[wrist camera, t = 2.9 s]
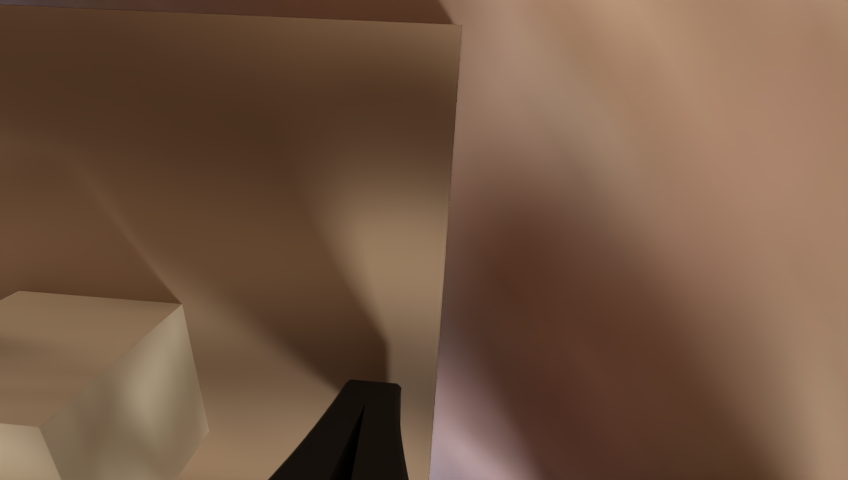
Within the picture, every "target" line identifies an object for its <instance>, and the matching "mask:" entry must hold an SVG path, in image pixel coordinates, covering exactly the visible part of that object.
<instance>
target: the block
mask: <svg viewBox="0 0 848 480" xmlns="http://www.w3.org/2000/svg"><path fill="white" fill-rule="evenodd" d="M208 433H209V428H208V424H207V419H206V414H205V409H204V405H203V400H202V395H201V391H200V386H199V381H198V377H197V372H196V367H195V362H194V358H193V353H192V348H191V344H190V339H189V334H188V330H187V325H186V320H185V315H184V311H183V306H182V304H175V303H163V302H151V301H138V300H126V299H114V298H102V297H89V296H77V295H65V294H52V293H40V292H28V291H17V292H15V293H14V294H12V295H10V296H8V297H6V298H4V299H2V300H0V480H177V478H178V477H179V475H180V474H181V472H182V471H183V469H184V468H185V466H186V465H187V463H188V462H189V460H190V459H191V458H192V456H193V455H194V453H195V452H196V450H197V449H198V447H199V446H200V444H201V443H202V441H203V440H204V438H205V437H206V436H207V434H208Z"/></svg>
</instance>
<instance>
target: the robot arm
mask: <svg viewBox="0 0 848 480" xmlns="http://www.w3.org/2000/svg"><path fill="white" fill-rule="evenodd" d="M401 390H402V388H401V387H400V386H399V385H398V384H397V383H386V382H375V381H364V380H353V379H350V380H349V381H347V382H346V383H345V385H344V386H343V388H342V389H341V391H340V392H339V394H338V395H337V396H336V398H335V399H334V401H333V402H332V403H331V405H330V406H329V408H328V409H327V410H326V412H325V413H324V414H323V415H322V417H321V418H320V419H319V421H318V422H317V423H316V424H315V426H314V427H313V428H312V429H311V431H310V432H309V433H308V434H307V436H306V437H305V438H304V439H303V440H302V442H301V443H300V444H299V445H298V447H297V448H296V449H295V450H294V451H293V452H292V453H291V455H290V456H289V457H288V458H287V459H286V460H285V461H284V462H283V463H282V465H281V466H280V467H279V468H278V469H277V470H276V471H275V472H274V473H273V475H272V476H271V477H270V478H269V479H268V480H409V478H408V473H407V467H406V462H405V456H404V449H403V443H402V436H401V426H400V421H401Z"/></svg>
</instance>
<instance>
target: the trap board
mask: <svg viewBox="0 0 848 480" xmlns="http://www.w3.org/2000/svg"><path fill="white" fill-rule="evenodd" d="M461 33H462V25H451V24H428V23H406V22H383V21H360V20H338V19H315V18H293V17H270V16H248V15H225V14H202V13H180V12H157V11H135V10H112V9H90V8H67V7H44V6H22V5H0V300H2V299H4V298H6V297H8V296H10V295H12V294H14V293H15V292H17V291H28V292H40V293H52V294H65V295H77V296H89V297H102V298H114V299H126V300H138V301H151V302H163V303H175V304H182V306H183V311H184V315H185V320H186V325H187V330H188V334H189V339H190V344H191V348H192V353H193V358H194V362H195V367H196V372H197V377H198V381H199V386H200V391H201V395H202V400H203V405H204V409H205V414H206V419H207V424H208V428H209V433H208V434H207V436H206V437H205V438H204V440H203V441H202V443H201V444H200V446H199V447H198V449H197V450H196V452H195V453H194V455H193V456H192V458H191V459H190V460H189V462H188V463H187V465H186V466H185V468H184V469H183V471H182V472H181V474H180V475H179V477H178V478H177V480H268V479H269V478H270V477H271V476H272V475H273V473H274V472H275V471H276V470H277V469H278V468H279V467H280V466H281V465H282V463H283V462H284V461H285V460H286V459H287V458H288V457H289V456H290V455H291V453H292V452H293V451H294V450H295V449H296V448H297V447H298V445H299V444H300V443H301V442H302V440H303V439H304V438H305V437H306V436H307V434H308V433H309V432H310V431H311V429H312V428H313V427H314V426H315V424H316V423H317V422H318V421H319V419H320V418H321V417H322V415H323V414H324V413H325V412H326V410H327V409H328V408H329V406H330V405H331V403H332V402H333V401H334V399H335V398H336V396H337V395H338V394H339V392H340V391H341V389H342V388H343V386H344V385H345V383H346V382H347V381H349V380H350V379H353V380H364V381H375V382H386V383H397V384H398V385H399V386H400V387H401V388H402V390H401V421H400V426H401V436H402V443H403V449H404V456H405V462H406V467H407V473H408V478H409V480H429V474H430V460H431V446H432V432H433V419H434V405H435V391H436V377H437V364H438V350H439V336H440V322H441V308H442V295H443V281H444V267H445V253H446V240H447V226H448V212H449V198H450V185H451V171H452V157H453V143H454V129H455V116H456V102H457V88H458V74H459V61H460V47H461Z"/></svg>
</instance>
